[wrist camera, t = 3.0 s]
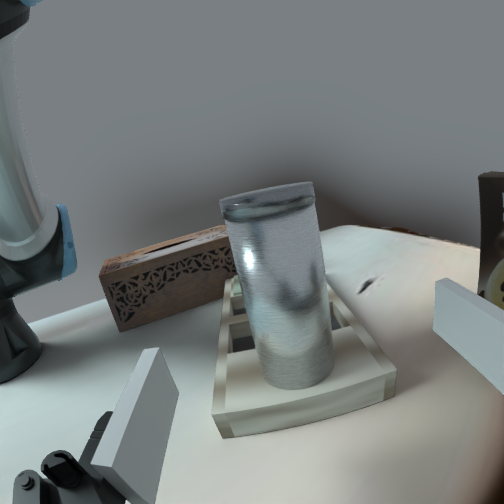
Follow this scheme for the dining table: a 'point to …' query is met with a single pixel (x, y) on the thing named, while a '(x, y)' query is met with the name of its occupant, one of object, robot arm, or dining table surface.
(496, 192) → the coffee box
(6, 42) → the robot arm
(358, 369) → the board
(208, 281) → the tissue box cover
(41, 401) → the dining table surface
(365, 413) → the dining table surface
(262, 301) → the canister
